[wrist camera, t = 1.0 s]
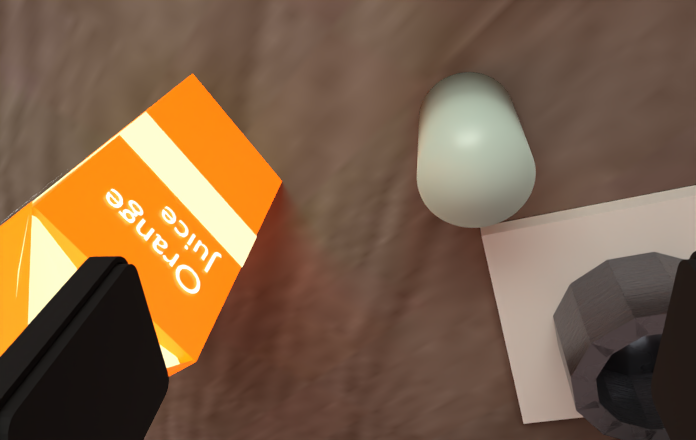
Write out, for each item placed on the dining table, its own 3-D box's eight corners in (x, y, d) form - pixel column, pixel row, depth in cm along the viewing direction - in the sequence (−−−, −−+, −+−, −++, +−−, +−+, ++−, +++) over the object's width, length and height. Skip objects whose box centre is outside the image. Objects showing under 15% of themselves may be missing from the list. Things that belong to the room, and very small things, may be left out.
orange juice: (284, 182, 34) (134, 503, 16) (176, 251, 37) (-42, 578, 20) (190, 69, 31) (-107, 311, 14) (83, 155, 34) (-264, 436, 17)
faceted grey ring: (722, 240, 31) (769, 298, 27) (722, 365, 35) (763, 434, 31) (545, 270, 33) (562, 328, 29) (565, 385, 37) (582, 451, 33)
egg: (505, 61, 29) (525, 109, 23) (520, 149, 31) (543, 215, 25) (409, 85, 30) (404, 138, 24) (430, 169, 32) (431, 237, 26)
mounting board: (779, 169, 30) (789, 177, 29) (769, 383, 37) (777, 395, 36) (479, 226, 33) (481, 236, 33) (521, 412, 40) (523, 423, 39)
